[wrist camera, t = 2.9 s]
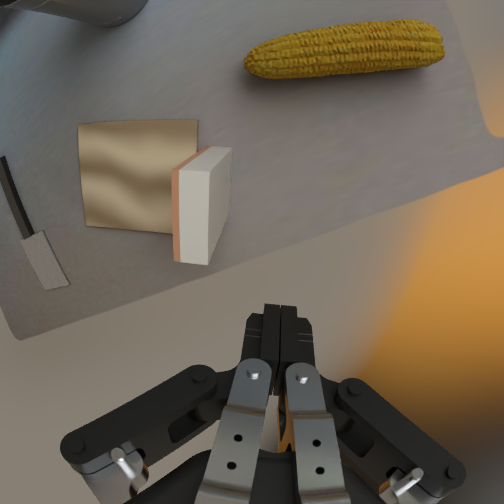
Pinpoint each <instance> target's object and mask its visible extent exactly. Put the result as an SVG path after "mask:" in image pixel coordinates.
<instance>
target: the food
mask: <svg viewBox="0 0 504 504" xmlns="http://www.w3.org/2000/svg"><path fill="white" fill-rule="evenodd" d="M442 39H443V37H442V36H441V35H440V34H439V33H438V30H437V29H436V28H435V27H434V26H432V25H430V24H429V23H425V22H423V21H417V20H411V19H405V20H393V21H388V22H385V21H382V22H381V21H378V22H360V23H347V24H344V25H334V26H331V27H326V28H322V29H321V28H318V29H314V30H308V31H303V32H298V33H294V34H288V35H284V36H281V37H279V38H276V39H272V40H270V41H268V42H264V43H262V44H260V45H259V46H257V47H255V49H254V48H252V49H251V53H248V57H245V58H244V59H245V60H243V61H244V62H245V63H244V64H245V65H244V66H245V69H246V70H248V71H249V72H250V73H251V74H252V73H253V74H255V75H258V76H260V77H263V78H268V79H269V78H270V79H283V78H286V79H288V78H289V79H290V78H292V79H294V78H311V77H321V76H327V75H334V74H350V73H362V72H364V73H368V72H374V71H381V70H384V71H385V70H394V69H405V68H409V69H411V68H418V67H419V68H421V67H428V66H430V65H432V64H433V63H436V62H438V61H440V60H442V59H443V57H444V56H445V51H444V47H443V45H442V44H441V43H442Z"/></svg>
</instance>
